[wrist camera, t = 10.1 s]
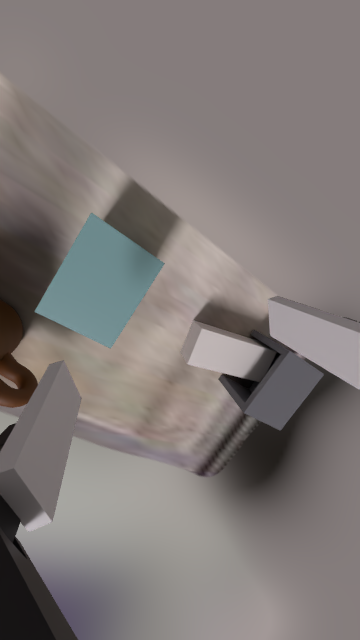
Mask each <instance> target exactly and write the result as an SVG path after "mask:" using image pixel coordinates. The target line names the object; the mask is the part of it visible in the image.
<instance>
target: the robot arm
mask: <svg viewBox="0 0 360 640" xmlns="http://www.w3.org/2000/svg"><path fill="white" fill-rule="evenodd" d="M268 311H269V327H270V336H271V337H273V338H275V339H276V340H278V341H280V342H281V343H283V344H285V345H286V346H288V347H290V348H291V349H293V350H295V351H296V352H298V353H300V354H301V355H303V356H305V357H306V358H308V359H310V360H311V361H313V362H314V363H316V364H318V365H320V366H321V367H323V368H324V369H326V370H328V371H329V372H331V373H333V374H334V375H336V376H338V377H339V378H341V379H343V380H344V381H346V382H348V383H349V384H351V385H353V386H354V387H356V388H358V389H359V390H360V322H357V321H355V320H352V319H349V318H345V317H340V316H337V315H334V314H331V313H328V312H325V311H322V310H319V309H316V308H313V307H309V306H307V305H304V304H301V303H298V302H295V301H291V300H288V299H285V298H282V297H279V296H276V297H273V298H270V299H268ZM80 402H81V396H80V394H79V392H78V390H77V388H76V385H75V383H74V381H73V379H72V377H71V375H70V373H69V370H68V368H67V366H66V364H65V362H64V360H63V361H59V362H56V363H53V364H50V365H49V366H48V368H47V370H46V372H45V373H44V375H43V377H42V379H41V380H40V382H39V384H38V386H37V388H36V389H35V391H34V393H33V395H32V396H31V398H30V400H29V402H28V403H27V405H26V407H25V409H24V411H23V412H22V414H21V416H20V418H19V419H18V421H17V423H16V424H12V425H10V426H8V427H7V429H5V430H4V431H3V432H2V433H1V435H0V640H78V639H77V637H76V636H75V634H74V632H73V631H72V629H71V627H70V626H69V624H68V622H67V621H66V619H65V617H64V615H63V614H62V612H61V610H60V609H59V607H58V605H57V604H56V602H55V600H54V599H53V597H52V595H51V594H50V592H49V590H48V588H47V587H46V585H45V584H44V582H43V580H42V578H41V577H40V575H39V573H38V572H37V570H36V568H35V567H34V565H33V563H32V562H31V560H30V558H29V557H28V555H27V553H26V551H25V550H24V548H23V546H22V545H21V543H20V541H19V540H18V539H17V538H16V537H15V535H16V532H17V530H18V527H19V524H20V522H21V523H22V525H23V526H24V527H25V528H26V529H27V531H28V532H29V531H32V530H34V529H36V528H39V527H41V526H44V525H46V524H49V523H51V522H52V521H53V517H54V512H55V509H56V504H57V500H58V496H59V491H60V487H61V483H62V479H63V474H64V470H65V466H66V462H67V458H68V453H69V449H70V445H71V441H72V436H73V432H74V428H75V424H76V419H77V415H78V411H79V407H80Z"/></svg>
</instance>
